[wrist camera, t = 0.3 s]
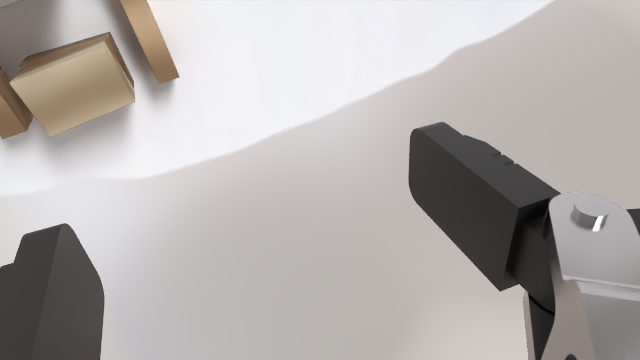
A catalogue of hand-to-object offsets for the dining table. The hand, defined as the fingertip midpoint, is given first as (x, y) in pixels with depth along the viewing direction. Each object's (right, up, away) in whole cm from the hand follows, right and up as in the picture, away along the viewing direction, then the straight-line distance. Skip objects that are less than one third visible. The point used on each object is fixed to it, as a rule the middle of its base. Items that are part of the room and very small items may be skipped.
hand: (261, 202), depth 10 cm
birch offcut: (-16, +8, +20) cm, 27 cm away
